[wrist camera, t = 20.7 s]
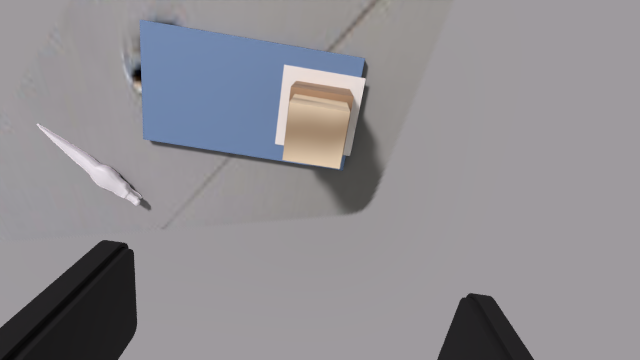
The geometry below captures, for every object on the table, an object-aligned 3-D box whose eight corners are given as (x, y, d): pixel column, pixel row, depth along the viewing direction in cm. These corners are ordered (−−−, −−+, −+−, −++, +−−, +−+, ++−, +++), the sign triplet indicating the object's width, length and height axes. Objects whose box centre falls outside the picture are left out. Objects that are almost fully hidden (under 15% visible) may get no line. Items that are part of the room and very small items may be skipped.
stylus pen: (150, 193, 44) (142, 199, 42) (140, 206, 45) (131, 213, 43) (47, 114, 41) (34, 117, 40) (38, 130, 42) (25, 133, 40)
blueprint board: (368, 58, 38) (369, 59, 37) (346, 168, 42) (346, 171, 41) (144, 20, 37) (139, 19, 36) (147, 137, 41) (142, 139, 40)
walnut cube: (340, 141, 40) (342, 156, 34) (289, 133, 40) (283, 147, 34) (349, 89, 38) (353, 96, 32) (296, 80, 38) (290, 86, 32)
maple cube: (337, 152, 34) (339, 169, 30) (288, 144, 34) (282, 160, 29) (347, 102, 32) (350, 111, 28) (294, 93, 32) (289, 101, 28)
